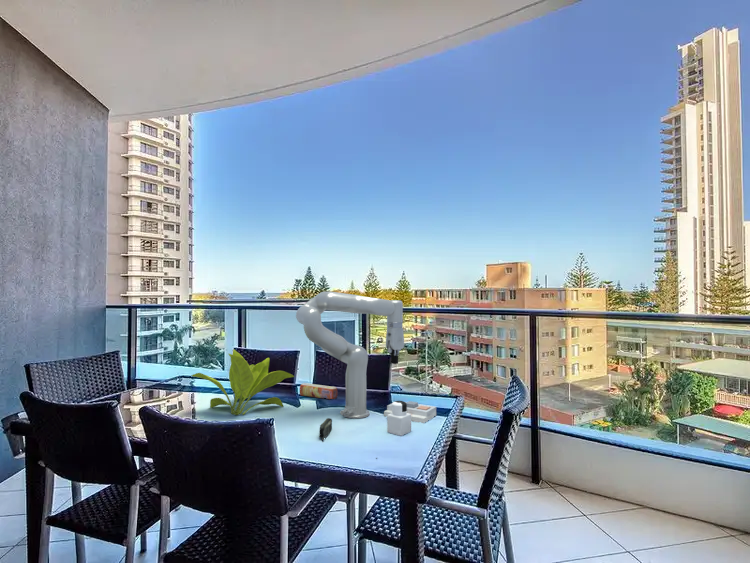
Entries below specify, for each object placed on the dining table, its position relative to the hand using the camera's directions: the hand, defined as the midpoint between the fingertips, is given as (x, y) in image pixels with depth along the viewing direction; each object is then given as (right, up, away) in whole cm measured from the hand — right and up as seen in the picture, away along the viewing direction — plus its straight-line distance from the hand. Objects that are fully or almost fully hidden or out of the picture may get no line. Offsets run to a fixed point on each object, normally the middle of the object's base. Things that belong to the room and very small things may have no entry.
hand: (394, 363), depth 196 cm
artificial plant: (-71, -22, -4) cm, 75 cm away
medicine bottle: (0, -21, -33) cm, 39 cm away
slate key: (+7, -18, -10) cm, 22 cm away
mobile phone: (-29, -21, -36) cm, 51 cm away
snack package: (-40, -23, +23) cm, 51 cm away
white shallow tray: (+7, -21, -11) cm, 25 cm away
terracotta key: (+13, -19, -13) cm, 26 cm away
